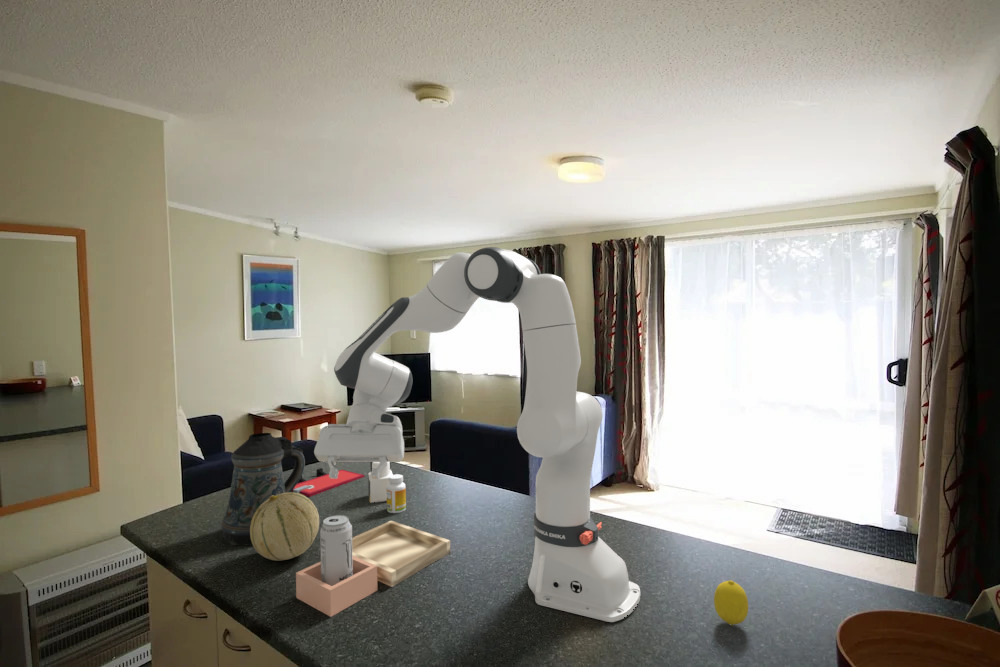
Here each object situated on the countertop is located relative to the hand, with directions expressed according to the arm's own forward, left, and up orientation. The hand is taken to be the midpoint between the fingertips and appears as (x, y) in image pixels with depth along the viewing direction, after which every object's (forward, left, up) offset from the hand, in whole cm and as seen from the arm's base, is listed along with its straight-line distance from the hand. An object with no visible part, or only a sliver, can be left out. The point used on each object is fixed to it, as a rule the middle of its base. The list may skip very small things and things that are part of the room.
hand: (353, 477), depth 112 cm
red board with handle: (+54, -26, -20) cm, 63 cm away
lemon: (-73, -24, -20) cm, 80 cm away
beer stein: (+35, +2, -20) cm, 40 cm away
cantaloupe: (+16, +7, -20) cm, 26 cm away
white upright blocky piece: (+27, -31, -20) cm, 45 cm away
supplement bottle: (+16, -27, -20) cm, 37 cm away
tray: (-4, -7, -19) cm, 21 cm away
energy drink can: (-7, +10, -20) cm, 23 cm away
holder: (-7, +10, -19) cm, 23 cm away
